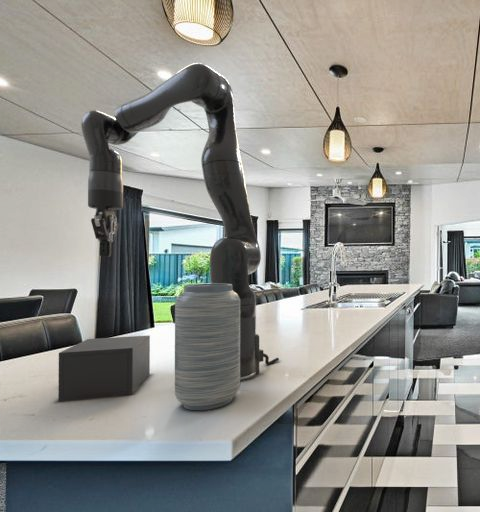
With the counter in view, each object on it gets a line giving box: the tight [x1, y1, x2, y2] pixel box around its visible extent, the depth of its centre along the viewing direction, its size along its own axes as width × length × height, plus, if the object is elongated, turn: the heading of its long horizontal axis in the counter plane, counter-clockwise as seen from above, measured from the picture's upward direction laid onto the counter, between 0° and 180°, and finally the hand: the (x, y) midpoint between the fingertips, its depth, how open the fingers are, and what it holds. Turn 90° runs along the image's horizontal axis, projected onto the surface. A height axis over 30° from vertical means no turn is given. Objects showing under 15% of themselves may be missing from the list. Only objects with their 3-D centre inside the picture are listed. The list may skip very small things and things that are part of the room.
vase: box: [174, 282, 241, 411], centre depth 76 cm, size 12×12×23 cm
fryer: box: [57, 334, 151, 403], centre depth 85 cm, size 15×13×10 cm
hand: (105, 256), depth 101 cm, fingers closed
